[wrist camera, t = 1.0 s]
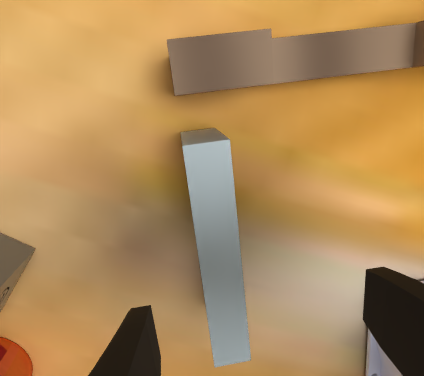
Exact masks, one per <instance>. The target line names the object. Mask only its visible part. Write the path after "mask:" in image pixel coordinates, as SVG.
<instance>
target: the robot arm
mask: <svg viewBox="0 0 424 376" xmlns="http://www.w3.org/2000/svg"><path fill="white" fill-rule="evenodd" d="M363 320H364V322H365V324H366V325H367V327H368V342H367V359H366V376H424V281H417V280H415V279H413V278H410V277H408V276H406V275H403V274H401V273H398V272H396V271H393V270H391V269H388V268H385V267H379V268H372V269H366V277H365V294H364V310H363ZM88 376H161V355H160V350H159V345H158V340H157V335H156V330H155V325H154V320H153V315H152V310H151V305H149V306H143V307H137V308H131V309H130V311H129V312H128V313H127V315H126V317H125V319H124V320H123V322H122V324H121V325H120V327H119V329H118V330H117V332H116V334H115V335H114V337H113V339H112V340H111V342H110V343H109V345H108V347H107V348H106V350H105V351H104V353H103V354H102V356H101V357H100V359H99V360H98V362H97V363H96V365H95V366H94V368H93V369H92V371H91V372H90V374H89V375H88Z"/></svg>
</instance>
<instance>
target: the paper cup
mask: <svg viewBox="0 0 424 376" xmlns="http://www.w3.org/2000/svg"><path fill="white" fill-rule="evenodd" d="M32 370H33V368H32V362H31V360H30V358H29V356H28V354H27V353H26V352H25V351H24V350H23V349H22V348H21V347H20V346H19V345H17V344H16V343H14V342H12V341H10V340H8V339H5V338H2V337H0V376H32Z"/></svg>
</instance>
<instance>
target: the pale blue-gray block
mask: <svg viewBox="0 0 424 376" xmlns="http://www.w3.org/2000/svg"><path fill="white" fill-rule="evenodd" d="M180 134H181V141H182V148H183V155H184V161H185V168H186V175H187V182H188V189H189V196H190V202H191V209H192V216H193V223H194V230H195V236H196V243H197V250H198V257H199V264H200V271H201V277H202V284H203V291H204V298H205V305H206V312H207V318H208V325H209V332H210V339H211V346H212V353H213V359H214V366H215V367H219V366H224V365H229V364H234V363H240V362H245V361H250V360H251V354H250V344H249V333H248V323H247V313H246V302H245V292H244V282H243V271H242V261H241V251H240V240H239V230H238V220H237V209H236V199H235V189H234V178H233V168H232V158H231V147H230V139H228V138H227V137H226V136H225V135H223V134H222V133H221V132H219V131H218V130H217V129H216V128H209V129H201V130H193V131H186V132H180Z"/></svg>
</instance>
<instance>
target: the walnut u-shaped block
mask: <svg viewBox="0 0 424 376" xmlns="http://www.w3.org/2000/svg"><path fill="white" fill-rule="evenodd" d="M167 45H168V52H169V59H170V66H171V72H172V79H173V86H174V93H175V96H178V95H187V94H195V93H203V92H212V91H220V90H228V89H236V88H245V87H253V86H261V85H269V84H278V83H286V82H294V81H303V80H311V79H319V78H327V77H336V76H344V75H352V74H361V73H369V72H377V71H385V70H394V69H402V68H410V67H419V66H424V21H420V22H417V23H410V24H401V25H392V26H382V27H373V28H364V29H355V30H346V31H336V32H327V33H318V34H309V35H299V36H290V37H281V38H272V36H271V29H263V30H253V31H244V32H234V33H225V34H215V35H206V36H196V37H187V38H177V39H168V40H167Z"/></svg>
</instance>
